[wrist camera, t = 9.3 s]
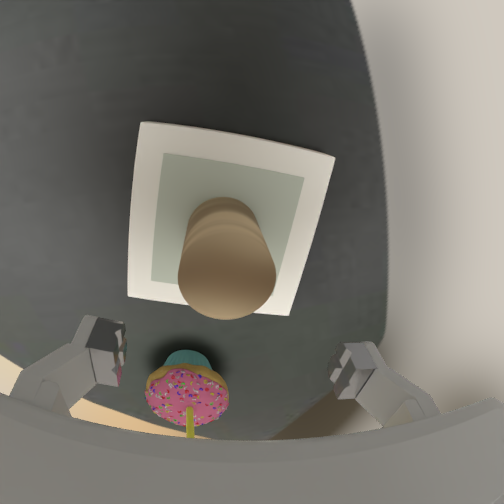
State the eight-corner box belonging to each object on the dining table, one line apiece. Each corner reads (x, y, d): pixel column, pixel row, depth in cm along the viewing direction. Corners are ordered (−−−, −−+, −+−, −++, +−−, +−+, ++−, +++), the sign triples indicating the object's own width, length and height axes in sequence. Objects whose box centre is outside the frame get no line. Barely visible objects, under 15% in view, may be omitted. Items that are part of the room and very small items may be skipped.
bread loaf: (192, 191, 21) (183, 226, 14) (264, 203, 22) (287, 242, 15) (183, 258, 23) (173, 313, 16) (250, 267, 24) (263, 323, 17)
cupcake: (158, 327, 29) (141, 428, 18) (238, 346, 31) (251, 446, 20) (145, 379, 32) (132, 467, 21) (214, 394, 34) (219, 481, 23)
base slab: (148, 121, 21) (140, 122, 18) (324, 153, 23) (336, 158, 21) (134, 281, 26) (127, 297, 24) (282, 300, 29) (288, 317, 26)
